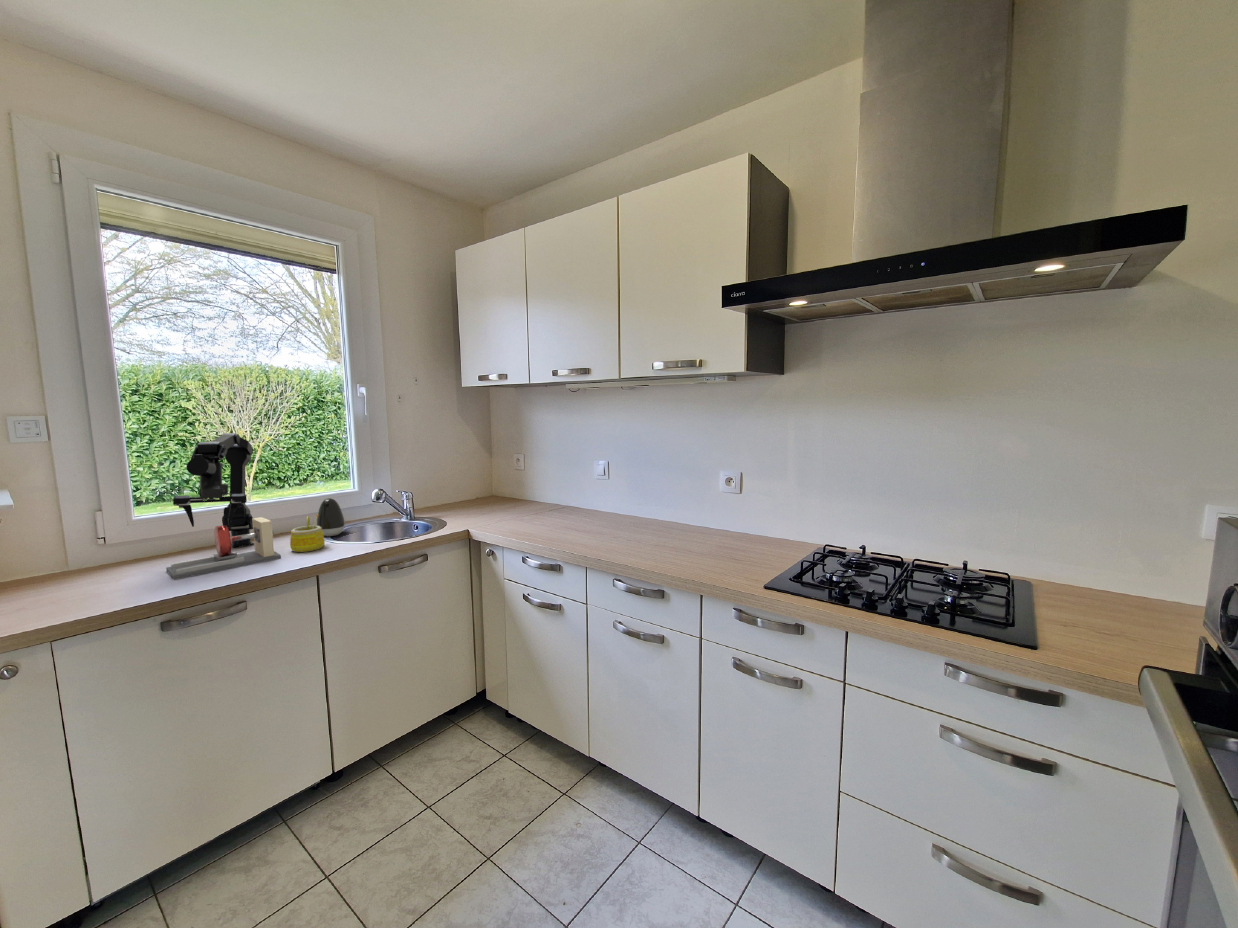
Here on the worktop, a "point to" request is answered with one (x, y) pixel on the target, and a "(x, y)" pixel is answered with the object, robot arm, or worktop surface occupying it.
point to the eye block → (261, 553)
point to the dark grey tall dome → (330, 518)
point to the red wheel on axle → (227, 542)
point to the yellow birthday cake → (307, 537)
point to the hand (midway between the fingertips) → (211, 525)
